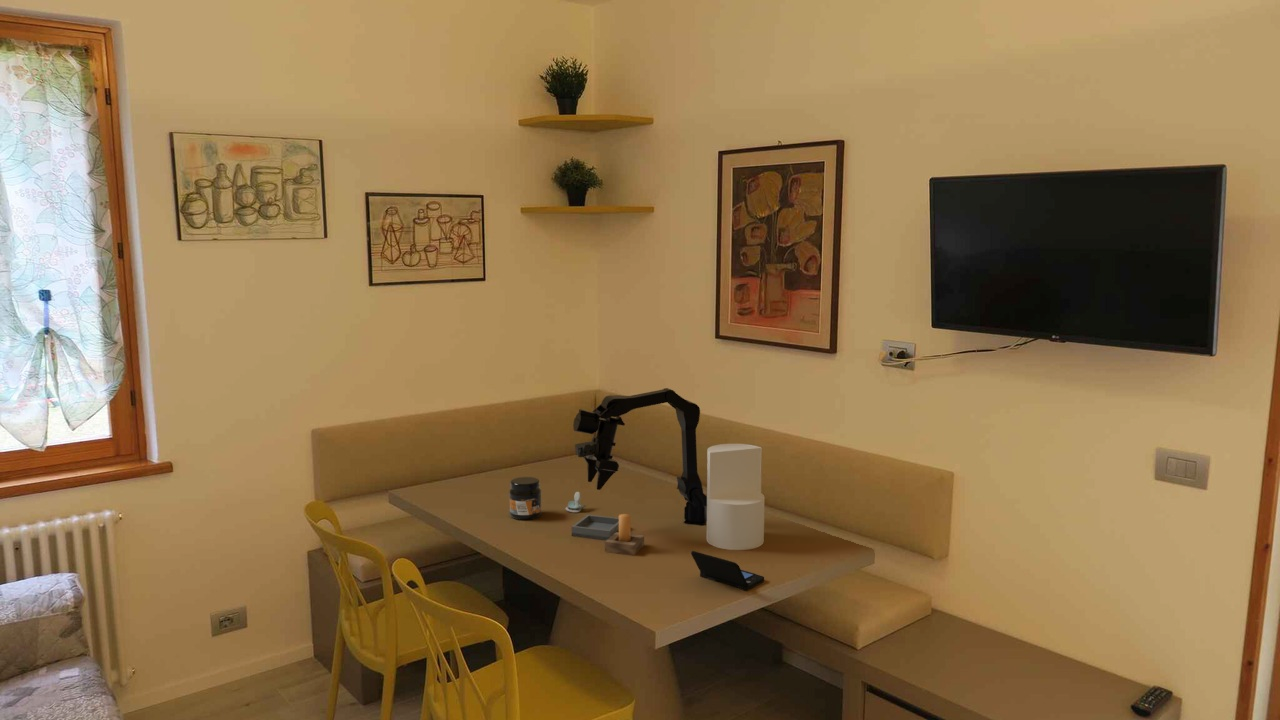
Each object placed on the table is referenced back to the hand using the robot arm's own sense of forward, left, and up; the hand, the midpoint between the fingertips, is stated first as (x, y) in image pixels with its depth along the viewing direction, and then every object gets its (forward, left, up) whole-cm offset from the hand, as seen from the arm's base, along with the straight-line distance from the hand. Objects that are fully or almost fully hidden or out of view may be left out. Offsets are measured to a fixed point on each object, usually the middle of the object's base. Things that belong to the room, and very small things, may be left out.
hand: (593, 485), depth 272 cm
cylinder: (-42, -9, -16) cm, 46 cm away
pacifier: (+16, -20, -16) cm, 30 cm away
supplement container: (+29, -9, -16) cm, 34 cm away
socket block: (-13, +9, -15) cm, 22 cm away
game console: (-48, +23, -16) cm, 56 cm away
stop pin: (-13, +9, -15) cm, 22 cm away
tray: (0, -2, -15) cm, 16 cm away
